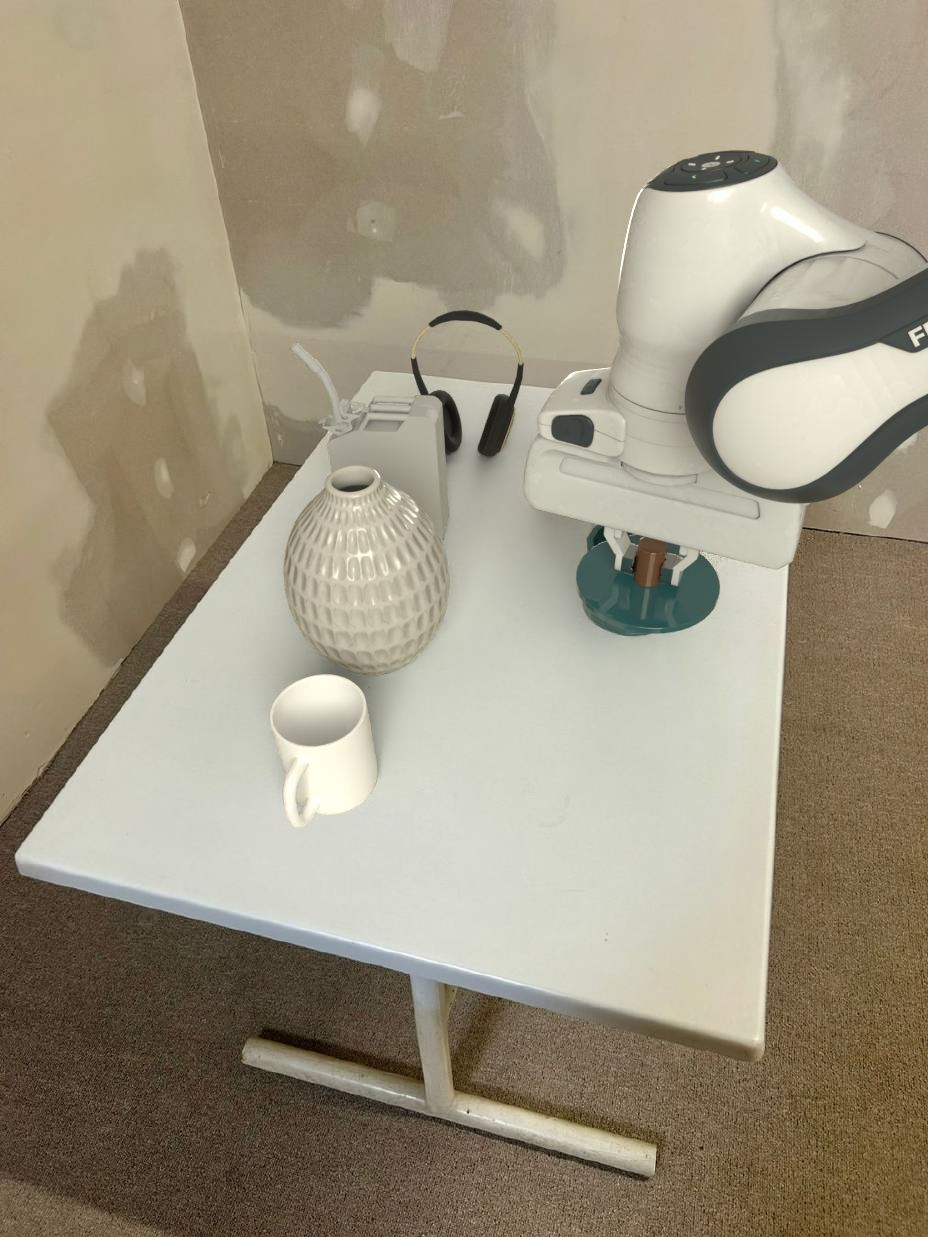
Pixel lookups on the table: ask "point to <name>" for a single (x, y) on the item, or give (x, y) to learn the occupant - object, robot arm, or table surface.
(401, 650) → the vase
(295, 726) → the cup
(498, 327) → the headphones
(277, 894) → the table surface
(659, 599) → the lid
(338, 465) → the fuel canister
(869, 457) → the robot arm
